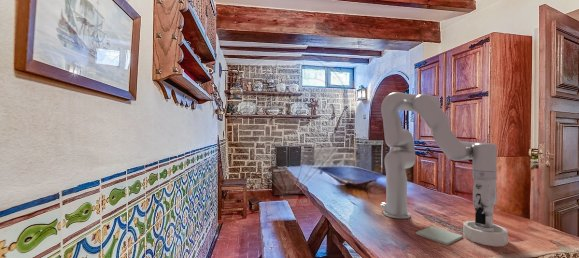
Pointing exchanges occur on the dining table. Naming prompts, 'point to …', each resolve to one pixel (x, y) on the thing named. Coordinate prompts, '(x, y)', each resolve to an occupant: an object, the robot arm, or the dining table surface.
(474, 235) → the bowl
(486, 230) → the plastic bottle
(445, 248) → the dining table surface
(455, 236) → the mat
